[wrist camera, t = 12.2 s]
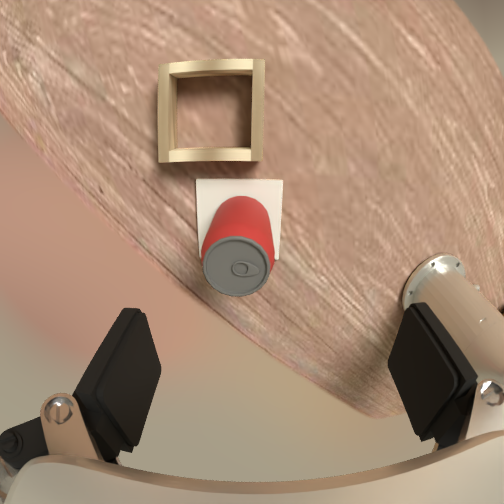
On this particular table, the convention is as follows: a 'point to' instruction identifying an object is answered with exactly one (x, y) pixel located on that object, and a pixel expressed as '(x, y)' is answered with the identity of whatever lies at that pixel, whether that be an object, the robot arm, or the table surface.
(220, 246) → the beer can
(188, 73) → the frame
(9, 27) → the table surface
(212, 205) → the coaster
